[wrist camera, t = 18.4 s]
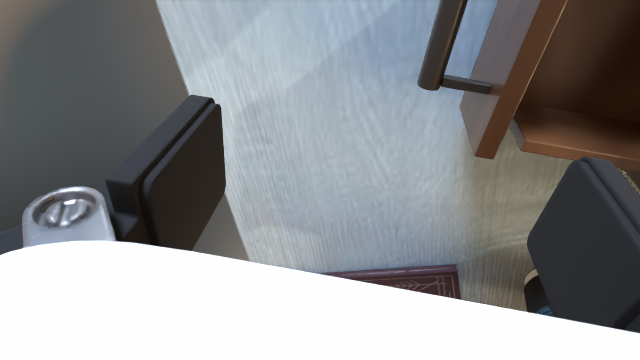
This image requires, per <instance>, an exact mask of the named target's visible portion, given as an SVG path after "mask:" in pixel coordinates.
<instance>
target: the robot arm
mask: <svg viewBox="0 0 640 360" xmlns="http://www.w3.org/2000/svg"><path fill="white" fill-rule="evenodd" d="M225 187H226V178H225V162H224V146H223V130H222V114H221V107H220V105H219V104H215V101H214V99H213V98H209V97H202V96H196V95H190V96H189V97H188V98H187V99H186V100H185V101H184V102H183V103H182V104H181V105H180V106H179V107H178V108H177V109H176V110H175V111H174V112H173V113H172V114H171V115H170V116H169V117H168V118H167V119H166V120H165V121H164V122H163V123H162V124H161V125H160V126H159V127H158V128H157V129H156V130H155V131H154V132H153V133H152V134H151V135H150V136H149V137H147V138H146V139H145V141H144V142H142V143H141V144H140V145H139V146H138V147H137V148H136V149H135V150H134V151H133V152H132V153H131V154H130V155H129V156H128V157H127V158H126V159H125V160H124V161H123V162H122V163H121V164H120V165H119V166H118V167H117V168H116V169H115V170H114V171H113V172H112V173H111V174H110V175H109V176H108V177H107V178H106V179H105V183H103V184H102V185H101V186H100V187H99V188H98V189H97V190H95V189H93V188H89V187H83V186H72V187H66V188H60V189H57V190H54V191H50V192H48V193H46V194H44V195H42V196H40V197H38V198H37V199H35V200H34V201H33V202H32V203H30V204H29V205H28V207H27V208H26V209H25V211H24V214H23V218H22V225H21V226H18V227H15V228H11V229H8V230H5V231H1V232H0V360H640V195H639V194H638V193H637V192H636V190H635V189H634V188H633V187H632V185H631V184H630V183H629V182H628V181H627V179H626V178H625V177H624V176H623V175H622V173H621V172H620V171H619V170H618V169H617V167H616V166H615V165H614V164H613V162H611V161H610V160H604V159H598V158H592V157H582V158H581V159H579V160H578V161H573V162H572V163H571V164H570V165H569V167H568V169H567V170H566V172H565V174H564V176H563V177H562V179H561V181H560V182H559V184H558V186H557V188H556V189H555V191H554V193H553V194H552V196H551V198H550V200H549V201H548V203H547V205H546V206H545V208H544V210H543V212H542V213H541V215H540V217H539V218H538V220H537V222H536V224H535V225H534V227H533V229H532V230H531V232H530V234H529V236H528V240H527V246H528V250H529V252H530V255H531V258H532V260H533V263H534V265H535V268H536V271H537V273H538V276H539V278H540V281H541V284H542V286H543V289H544V291H545V294H546V297H547V299H548V302H549V304H550V307H551V310H552V312H553V315H554V317H550V316H545V315H540V314H534V313H529V312H523V311H518V310H513V309H507V308H502V307H497V306H491V305H486V304H480V303H475V302H470V301H464V300H459V299H453V298H448V297H442V296H437V295H432V294H426V293H421V292H415V291H410V290H404V289H399V288H393V287H388V286H382V285H377V284H371V283H366V282H360V281H355V280H349V279H344V278H338V277H333V276H327V275H321V274H316V273H310V272H305V271H299V270H293V269H288V268H282V267H277V266H271V265H265V264H260V263H254V262H247V261H243V260H236V259H232V258H226V257H220V256H215V255H209V254H203V253H198V252H192V249H193V248H194V246H195V244H196V242H197V241H198V239H199V237H200V235H201V234H202V232H203V230H204V228H205V226H206V225H207V223H208V221H209V219H210V218H211V216H212V214H213V212H214V210H215V209H216V207H217V205H218V203H219V202H220V200H221V198H222V196H223V194H224V192H225Z"/></svg>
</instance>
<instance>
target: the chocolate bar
mask: <svg viewBox="0 0 640 360" xmlns="http://www.w3.org/2000/svg"><path fill="white" fill-rule="evenodd" d="M320 274H321V275H327V276H333V277H338V278H344V279H349V280H355V281H360V282H366V283H371V284H377V285H382V286H388V287H393V288H399V289H404V290H410V291H415V292H421V293H426V294H432V295H437V296H442V297H448V298H453V299H459V300H460V291H459V283H458V274H457V267H456V265H441V266H426V267H411V268H396V269H381V270H366V271H350V272H335V273H320Z"/></svg>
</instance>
